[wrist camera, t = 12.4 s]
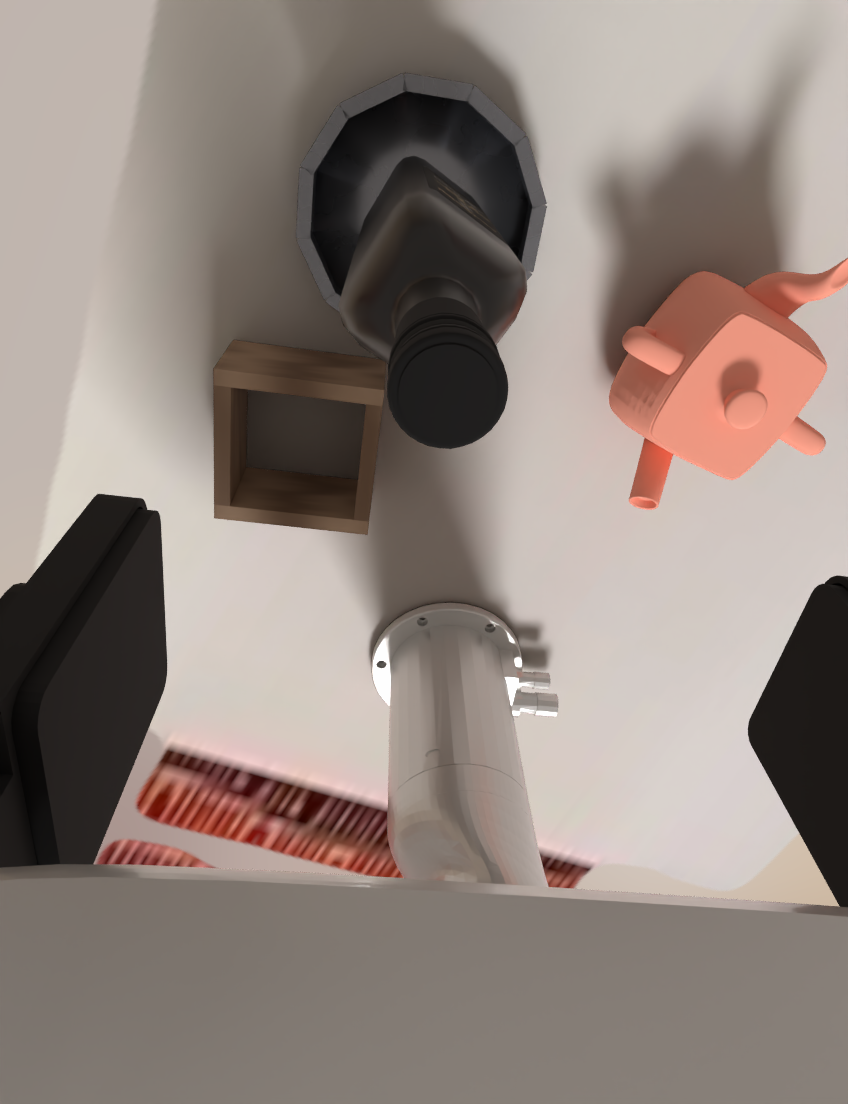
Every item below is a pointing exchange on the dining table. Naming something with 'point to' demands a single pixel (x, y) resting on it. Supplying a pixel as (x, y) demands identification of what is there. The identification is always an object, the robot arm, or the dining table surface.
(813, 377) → the teapot
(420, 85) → the serving bowl
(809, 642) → the robot arm
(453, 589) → the dining table surface
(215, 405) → the open square wooden box
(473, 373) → the wine bottle
